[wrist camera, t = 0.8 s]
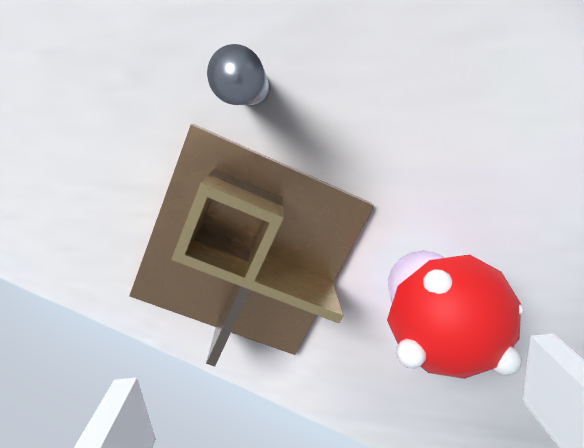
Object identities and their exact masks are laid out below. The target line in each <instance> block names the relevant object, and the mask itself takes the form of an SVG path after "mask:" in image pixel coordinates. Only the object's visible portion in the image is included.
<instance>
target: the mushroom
mask: <svg viewBox="0 0 584 448" xmlns="http://www.w3.org/2000/svg"><path fill="white" fill-rule="evenodd" d="M388 286H389V293H390V297H391V301H392V306H391V309H390V312H389V316H388V319H387V321H388V323H389V326H390V328H391V330H392V332H393V334H394V337H395V339H396V341H397V343H398V346H397V357H398V359H399V361H400V362H401V363H402V364H403V365H404V366H405V367H408V368H417V367H419V366H421V367H422V368H423V369H424V370H425V371H427V372H428V373H433V374H439V375H445V376H452V377H458V378H467V377H470V376H473V375H476V374H479V373H482V372H485V371H488V370H491V369H493V370H494V371H495V372H497V373H498V374H501V375H511V374H514V373H516V372H517V371H518V370H519V368H520V367H521V357H520V355H519V354H518V352H517V350H516V349H514V348H513V347H514V345H515V344H516V343H517V341H518V340H519V334H520V314H522V312H523V307H522V305H521V303H520V302H519V300H518V298H517V297H516V295H515V293H514V292H513V290H512V288H511V287H510V285H509V284H508V282H507V280H506V279H505V277H504V275H503V274H502V272H501V271H499V270H497V269H495V268H493V267H492V266H490V265H488V264H486V263H484V262H482V261H481V260H479V259H477V258H475V257H473V256H471V255H463V256H456V257H449V258H445V257H443V256H440V255H438V254H436V253H433V252H428V251H418V252H412V253H410V254H408V255H406V256H404V257H403V258H401V259H399V261H398V262H397V263H396V264H395V265H394V266H393V268H392V269H391V272H390V275H389V278H388Z"/></svg>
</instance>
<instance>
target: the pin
mask: <svg viewBox="0 0 584 448" xmlns="http://www.w3.org/2000/svg"><path fill="white" fill-rule="evenodd" d="M207 76H208V82H209V85H210V87H211V89H212V91H213V92H214V94H215V95H216V96H217V97H218V98H219V99H221V100H222V101H224V102H226V103H228V104H232V105H255V104H259V103H260V102H262V101H263V100H264V99H265V98H266V96H267V94H268V91H269V83H268V80H267V77H266V74H265V71H264V69H263V66H262V63H261V61H260V59H259V58H258V56H257V55H256V54H255V53H254V52H253V51H252V50H250V49H249V48H247V47H245V46H242V45H238V44H231V45H226V46H224V47H222V48H220V49H219V50H217V51H216V52H215V53H214V55H213V56H212V58H211V59H210V62H209V65H208V70H207Z"/></svg>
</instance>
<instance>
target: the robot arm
mask: <svg viewBox="0 0 584 448" xmlns="http://www.w3.org/2000/svg"><path fill="white" fill-rule="evenodd" d="M523 403H524V404H525V405H526V406H527V408H528V409H529V410H530V412H531V413H532V414H533V415H534V417H535V418H536V419H537V420H538V422H539V423H540V424H541V425H542V427H543V428H544V429H545V431H546V432H547V433H548V434H549V436H550V437H551V438H552V439H553V441H554V442H555V443H556V444H557V446H558V447H559V448H584V359H583V358H581V357H580V356H579V355H578V354H577V353H576V352H575V351H573V350H572V349H571V348H570V347H569V346H568V345H566V344H565V343H564V342H563V341H562V340H561V339H560V338H558V337H557V336H556V335H555V334H554V333H553V334H544V335H534V336H530V344H529V352H528V360H527V369H526V377H525V385H524V393H523ZM155 440H156V438H155V435H154V432H153V429H152V426H151V422H150V419H149V415H148V412H147V409H146V406H145V402H144V399H143V396H142V392H141V389H140V386H139V383H138V379H137V378H127V379H118V380H114V381H113V383H112V385H111V386H110V388H109V390H108V391H107V393H106V395H105V396H104V398H103V400H102V401H101V403H100V405H99V406H98V408H97V410H96V411H95V413H94V415H93V417H92V418H91V420H90V422H89V423H88V425H87V427H86V428H85V430H84V432H83V433H82V435H81V437H80V438H79V440H78V442H77V443H76V445H75V447H74V448H153V445H154V443H155Z"/></svg>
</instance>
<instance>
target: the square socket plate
mask: <svg viewBox="0 0 584 448" xmlns="http://www.w3.org/2000/svg"><path fill="white" fill-rule="evenodd" d="M373 206H374V205H373V204H372V203H370V202H368V201H366V200H363V199H361V198H359V197H357V196H354V195H352V194H350V193H348V192H345V191H343V190H341V189H339V188H336V187H334V186H332V185H330V184H327V183H325V182H323V181H321V180H318V179H316V178H314V177H312V176H309V175H307V174H305V173H303V172H300V171H298V170H296V169H293V168H291V167H289V166H287V165H284V164H282V163H280V162H278V161H275V160H273V159H271V158H269V157H266V156H264V155H262V154H260V153H257V152H255V151H253V150H251V149H248V148H246V147H244V146H242V145H239V144H237V143H235V142H233V141H230V140H228V139H226V138H224V137H221V136H219V135H217V134H215V133H212V132H210V131H208V130H206V129H203V128H201V127H199V126H197V125H194V124H191V126H190V128H189V131H188V134H187V137H186V140H185V142H184V145H183V148H182V151H181V154H180V156H179V159H178V162H177V165H176V168H175V170H174V173H173V176H172V179H171V181H170V184H169V187H168V190H167V193H166V195H165V198H164V201H163V204H162V207H161V209H160V212H159V215H158V218H157V221H156V223H155V226H154V229H153V232H152V234H151V237H150V240H149V243H148V246H147V248H146V251H145V254H144V257H143V260H142V262H141V265H140V268H139V271H138V274H137V276H136V279H135V282H134V285H133V287H132V290H131V293H130V297H133V298H136V299H139V300H141V301H144V302H147V303H150V304H153V305H155V306H158V307H161V308H164V309H167V310H170V311H172V312H175V313H178V314H181V315H184V316H186V317H189V318H192V319H195V320H198V321H201V322H203V323H206V324H209V325H212V326H215V327H216V329H215V333H214V337H213V340H212V344H211V348H210V351H209V355H208V359H207V362H206V364H209V365H212V366H215V365H216V363H217V361H218V359H219V357H220V355H221V352H222V350H223V348H224V346H225V344H226V342H227V339H228V337H229V335H230V333H231V332H232V333H234V334H237V335H240V336H243V337H246V338H248V339H251V340H254V341H257V342H260V343H263V344H265V345H268V346H271V347H274V348H277V349H279V350H282V351H285V352H288V353H291V354H293V355H295V354H296V352H297V350H298V348H299V346H300V344H301V342H302V340H303V339H304V337H305V335H306V333H307V331H308V329H309V327H310V325H311V323H312V322H313V320H314V318H315V316H316V315H318V316H321V317H324V318H326V319H329V320H332V321H334V322H337V323H340V321H341V319H342V317H343V313H342V310H341V306H340V303H339V300H338V297H337V294H336V291H335V288H334V284H333V282H334V280H335V278H336V276H337V274H338V273H339V271H340V269H341V267H342V265H343V263H344V261H345V259H346V257H347V256H348V254H349V252H350V250H351V248H352V246H353V244H354V242H355V240H356V239H357V237H358V235H359V233H360V231H361V229H362V227H363V225H364V223H365V222H366V220H367V218H368V216H369V214H370V212H371V210H372V208H373Z"/></svg>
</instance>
